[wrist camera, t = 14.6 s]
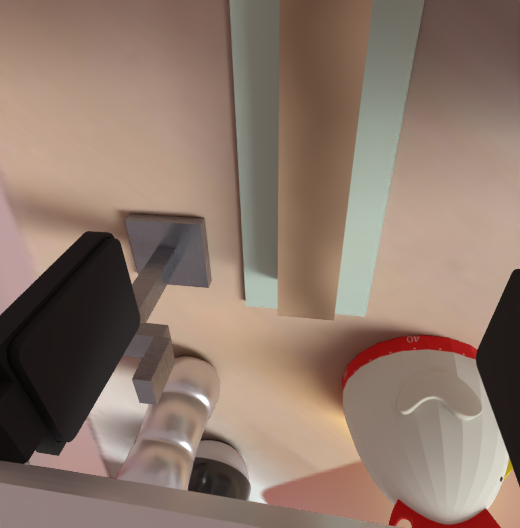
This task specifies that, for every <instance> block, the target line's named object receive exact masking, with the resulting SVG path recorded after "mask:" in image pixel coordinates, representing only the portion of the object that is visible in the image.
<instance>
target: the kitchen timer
mask: <svg viewBox="0 0 520 528" xmlns="http://www.w3.org/2000/svg"><path fill="white" fill-rule="evenodd" d="M476 353H477V349H475V348H474V347H472V346H471V345H468V344H465V343H462V342H459V341H457V340H454V339H451V338H446V337H437V336H428V335H419V336H406V337H398V338H394V339H391V340H387V341H384V342H380V343H377V344H375V345H374V346H372V347H370V348H368V349H366V350H365V351H363V352H361V353H359V354H358V355H357V356H356V357H355V358H354V359H353V360H352V361H351V362H350V363H349V364H348V366H347V368H346V371H345V373H344V375H343V378H342V385H343V408H344V414H345V418H346V422H347V425H348V428H349V430H350V433H351V436H352V439H353V441H354V444H355V447H356V449H357V452H358V454H359V456H360V458H361V460H362V462H363V463H364V465H365V467H366V469H367V471H368V473H369V474H370V476H371V478H372V479H373V481H374V482H375V483H376V485H377V486H378V488H379V489H380V490H381V491H382V492H383V494H384V495H385V496H386V497H387V498H388V499H389V500H390V501H391V502H392V503H393V504H394V505H395V506H394V509H393V511H392V514H391V518H390V521H389V525H390V526H396V525H397V523H398V522H399V521H400V520H401V519H407V520H409V521H410V522H411V525H412V528H501V527H500V526H499V525H498V524H497V522H496V521H495V520H494V518H493V517H492V516H491V514H490V513H489V512H488V510H487V509H488V508H489V507H490V505H491V504H492V503H493V501H494V499H495V497H496V495H497V493H498V491H499V489H500V486H501V484H502V482H503V480H504V479H505V478H506V477H507V476H508V474H509V473H510V472H511V471H512V470H513V466H512V464H511V461H510V459H509V455H508V452H507V450H506V447H505V444H504V441H503V439H502V436H501V433H500V430H499V427H498V425H497V422H496V419H495V416H494V413H493V411H492V408H491V405H490V402H489V399H488V397H487V394H486V391H485V388H484V385H483V383H482V380H481V377H480V374H479V371H478V369H477V365H476Z"/></svg>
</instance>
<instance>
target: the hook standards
mask: <svg viewBox="0 0 520 528" xmlns="http://www.w3.org/2000/svg"><path fill="white" fill-rule="evenodd" d="M125 224H126V228H127V232H128V236H129V240H130V244H131V248H132V252H133V256H134V260H135V264H136V267H137V271H138V277H137V278H136V280H135V281H134V283H133V284H132V288H133V291H134V295H135V299H136V302H137V306H138V310H139V313H140V325H139V328H138V330H137V332H136V334H135V336H134V337H133V339H132V341H131V342H130V344H129V346H128V348H127V349H126V351H125V353H124V354H123V356H129V357H138V358H143V359H142V361H141V363H140V365H139V366H138V368H137V370H136V372H135V374H134V376H133V378H132V381H133V384H134V387H135V390H136V393H137V396H138V399H139V402H140V403H146V404H154V405H157V404H158V402H159V400H160V397H161V395H162V393H163V390H164V388H165V385H166V383H167V381H168V378H169V376H170V374H171V371H172V369H173V367H174V364H175V357H174V352H173V346H172V341H171V336H170V332H169V327H168V325H161V324H151V323H146V321H147V320H148V318H149V316H150V314H151V312H152V311H153V309H154V307H155V305H156V303H157V302H158V300H159V298H160V296H161V295H162V293H163V291H164V289H165V287H166V286H167V284H170V285H182V286H194V287H206V288H209V285H210V283H211V281H212V280H211V271H210V263H209V254H208V245H207V237H206V228H205V220H204V218H192V217H176V216H159V215H142V214H129V216H128V217H127V218H126V219H125Z"/></svg>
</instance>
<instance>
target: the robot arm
mask: <svg viewBox="0 0 520 528" xmlns="http://www.w3.org/2000/svg"><path fill="white" fill-rule="evenodd" d="M139 325H140V313H139V310H138V306H137V302H136V299H135V295H134V291H133V288H132V284H131V280H130V277H129V273H128V269H127V266H126V262H125V258H124V254H123V251H122V247H121V244H120V241H119V240H118V239H115V238H114V236H113V235H112V234H111V233H107V232H93V231H88V232H85V233H84V234H83V235H82V236H81V237H80V238H79V239H78V240H77V241H76V242H75V243H74V244H73V245H72V246H71V247H70V248H69V249H68V250H66V251H65V252H64V253H63V254H62V255H61V256H60V257H59V258H58V259H57V260H56V261H55V262H54V263H53V264H52V265H51V266H50V267H49V268H48V269H47V270H46V271H45V272H44V273H43V274H42V275H41V276H40V277H39V278H38V279H37V280H36V281H35V282H34V283H33V284H32V285H31V286H30V287H29V288H28V289H27V290H26V291H25V292H24V293H23V294H22V295H21V296H20V297H18V298H17V299H16V300H15V301H14V302H13V303H12V304H11V305H10V306H9V307H8V308H7V309H6V310H5V311H4V312H3V313H2V314H1V315H0V528H401V527H396V526H390V525H384V524H379V523H373V522H367V521H362V520H356V519H350V518H345V517H339V516H333V515H327V514H321V513H315V512H310V511H303V510H298V509H292V508H286V507H280V506H275V505H269V504H263V503H257V502H251V501H245V500H239V499H233V498H228V497H222V496H216V495H210V494H204V493H198V492H192V491H186V490H180V489H174V488H168V487H162V486H156V485H150V484H144V483H138V482H132V481H126V480H120V479H114V478H108V477H101V476H96V475H90V474H83V473H78V472H72V471H66V470H59V469H53V468H46V467H40V466H33V465H30V464H29V459H30V457H31V456H32V454H33V453H34V451H35V450H36V451H37V452H39V453H45V454H51V455H57V456H58V455H59V454H60V452H61V451H62V449H63V448H64V446H65V444H66V442H70V441H72V440H73V439H74V438H75V436H76V435H77V433H78V432H79V430H80V428H81V427H82V424H83V423H84V421H85V420H86V418H87V416H88V415H89V413H90V411H91V409H92V408H93V406H94V404H95V403H96V401H97V399H98V397H99V396H100V394H101V392H102V390H103V389H104V387H105V385H106V384H107V382H108V380H109V378H110V377H111V375H112V373H113V372H114V370H115V368H116V366H117V365H118V363H119V361H120V360H121V358H122V356H123V354H124V353H125V351H126V349H127V348H128V346H129V344H130V342H131V341H132V339H133V337H134V336H135V334H136V332H137V330H138V328H139ZM476 365H477V369H478V371H479V374H480V377H481V380H482V383H483V385H484V388H485V391H486V394H487V397H488V399H489V402H490V405H491V408H492V411H493V413H494V416H495V419H496V422H497V425H498V427H499V430H500V433H501V436H502V439H503V441H504V444H505V447H506V450H507V452H508V455H509V458H510V461H511V464H512V466H513V469H514V472H515V475H516V478H517V480H518V483H519V486H520V269H516V270H514V271H513V272H512V274H511V276H510V278H509V281H508V283H507V285H506V287H505V290H504V292H503V294H502V296H501V299H500V301H499V303H498V305H497V307H496V310H495V312H494V314H493V316H492V319H491V321H490V323H489V325H488V328H487V330H486V332H485V334H484V337H483V339H482V341H481V343H480V345H479V348H478V350H477V353H476Z"/></svg>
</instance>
